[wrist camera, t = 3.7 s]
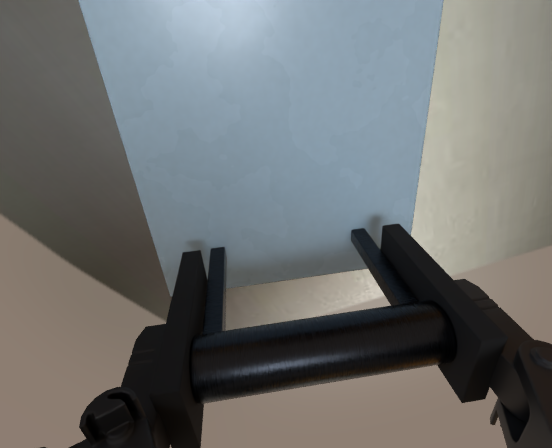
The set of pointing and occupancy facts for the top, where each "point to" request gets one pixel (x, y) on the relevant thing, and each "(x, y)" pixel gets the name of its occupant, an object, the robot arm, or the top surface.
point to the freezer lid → (279, 168)
